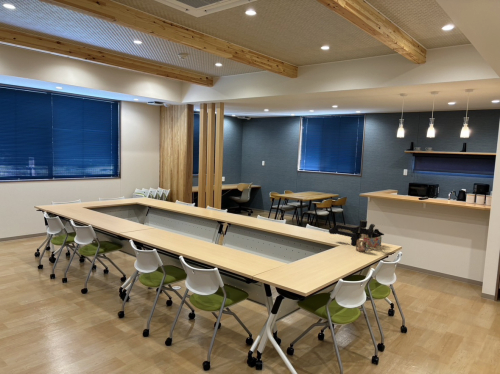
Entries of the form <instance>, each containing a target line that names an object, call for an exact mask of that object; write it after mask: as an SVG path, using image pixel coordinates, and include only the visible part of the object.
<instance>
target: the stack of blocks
mask: <svg viewBox="0 0 500 374" xmlns="http://www.w3.org/2000/svg"><path fill="white" fill-rule="evenodd" d="M371 237H372V236H371ZM382 238H383V237H382V236H381V237H375V238H369V237H368V235H364V234H363V239H362V240H364V241H366V247H370V248H374V247H379V246H382Z"/></svg>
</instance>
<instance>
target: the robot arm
mask: <svg viewBox="0 0 500 374" xmlns="http://www.w3.org/2000/svg"><path fill="white" fill-rule="evenodd" d="M367 227H368V228H367ZM349 231H350V232H349ZM328 233H329V234H330V235H341V236H345V237H350V241H351V242H350V246H353V247H356V244H357V240H361V238H362V235H363V236H364V235H368V237H369V238H375V237H382V236H385V233H383V232H381V231H380V230H379V228H376V224H374V223H371V224H370V225H369V226H368V220H364V219H363V220H362V219H360V220H359V225H358V226H356V225H354V226H353V225H351V226H350V225H345V224H340V223H338V224H336V225H334V226H332V227H331V228H329V229H328ZM371 236H372V237H371ZM357 248H358V246H357Z"/></svg>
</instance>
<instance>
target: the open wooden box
mask: <svg viewBox="0 0 500 374" xmlns="http://www.w3.org/2000/svg"><path fill="white" fill-rule="evenodd" d="M357 246H358V247H359V250H358V247H357ZM360 246H362V247H365V250H360ZM366 247H367V246H366V241H364V240H363V239H359V240H357V244H356V246H355V251H356V252H357V253H366V252H367V251H366Z"/></svg>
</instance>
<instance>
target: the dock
mask: <svg viewBox="0 0 500 374" xmlns="http://www.w3.org/2000/svg"><path fill="white" fill-rule="evenodd" d="M363 247H364V246H363ZM364 250H365V247H364ZM372 250H374V247H367V246H366V251H365V252H371V251H372Z"/></svg>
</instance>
